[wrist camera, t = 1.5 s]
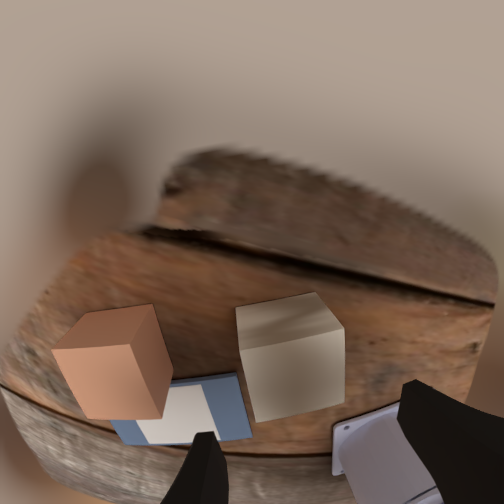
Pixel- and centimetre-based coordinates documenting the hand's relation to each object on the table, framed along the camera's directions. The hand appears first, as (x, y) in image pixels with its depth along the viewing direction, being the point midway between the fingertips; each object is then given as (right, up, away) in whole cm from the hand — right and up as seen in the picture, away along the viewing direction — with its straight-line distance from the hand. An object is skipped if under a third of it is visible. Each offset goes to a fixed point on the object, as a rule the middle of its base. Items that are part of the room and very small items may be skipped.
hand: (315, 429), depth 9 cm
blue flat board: (-8, -5, +8) cm, 12 cm away
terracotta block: (-10, +1, +7) cm, 12 cm away
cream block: (-1, +2, +8) cm, 8 cm away
